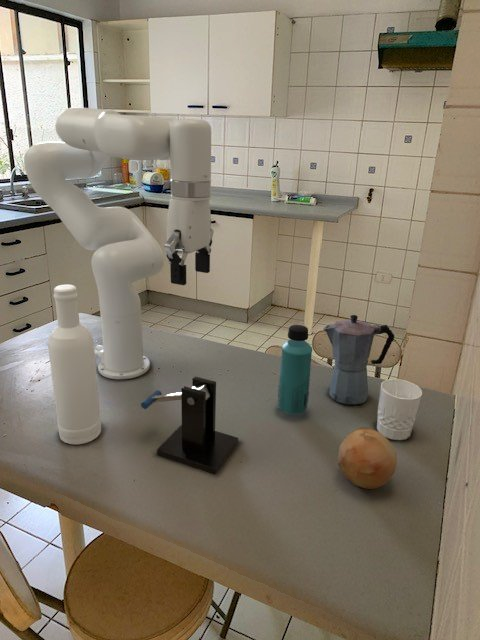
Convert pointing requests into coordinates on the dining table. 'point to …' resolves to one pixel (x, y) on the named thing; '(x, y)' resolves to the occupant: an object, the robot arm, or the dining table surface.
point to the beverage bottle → (295, 371)
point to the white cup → (397, 408)
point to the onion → (367, 458)
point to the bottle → (73, 372)
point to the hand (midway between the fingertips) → (191, 277)
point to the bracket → (198, 431)
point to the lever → (169, 396)
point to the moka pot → (353, 357)
